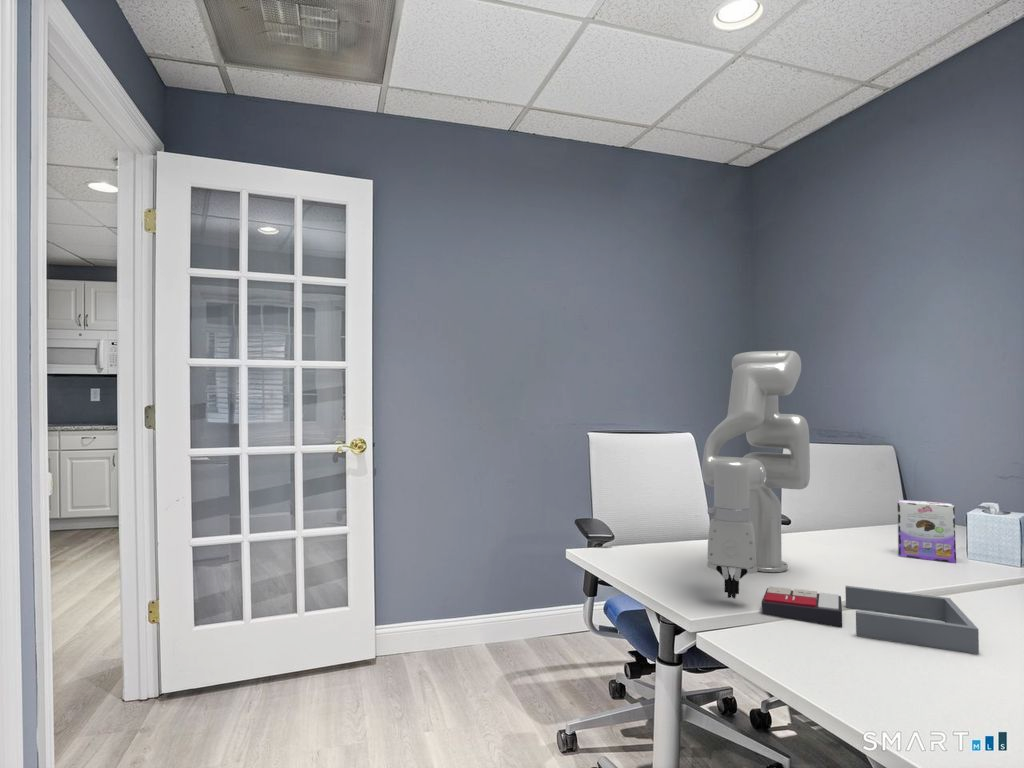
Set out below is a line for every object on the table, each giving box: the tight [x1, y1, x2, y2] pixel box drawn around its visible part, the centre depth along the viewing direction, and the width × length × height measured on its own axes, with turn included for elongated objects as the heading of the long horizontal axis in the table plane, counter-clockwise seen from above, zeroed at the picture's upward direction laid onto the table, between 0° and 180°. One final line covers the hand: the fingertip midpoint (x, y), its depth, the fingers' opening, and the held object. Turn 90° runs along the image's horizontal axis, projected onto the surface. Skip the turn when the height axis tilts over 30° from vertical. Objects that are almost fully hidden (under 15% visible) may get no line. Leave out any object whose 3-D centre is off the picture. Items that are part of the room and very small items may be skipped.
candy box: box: [896, 499, 957, 564], centre depth 170 cm, size 14×6×16 cm, turn 58°
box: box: [844, 585, 980, 655], centre depth 117 cm, size 19×18×4 cm
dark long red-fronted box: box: [761, 586, 843, 628], centre depth 125 cm, size 11×4×15 cm
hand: (731, 596), depth 130 cm, fingers closed
